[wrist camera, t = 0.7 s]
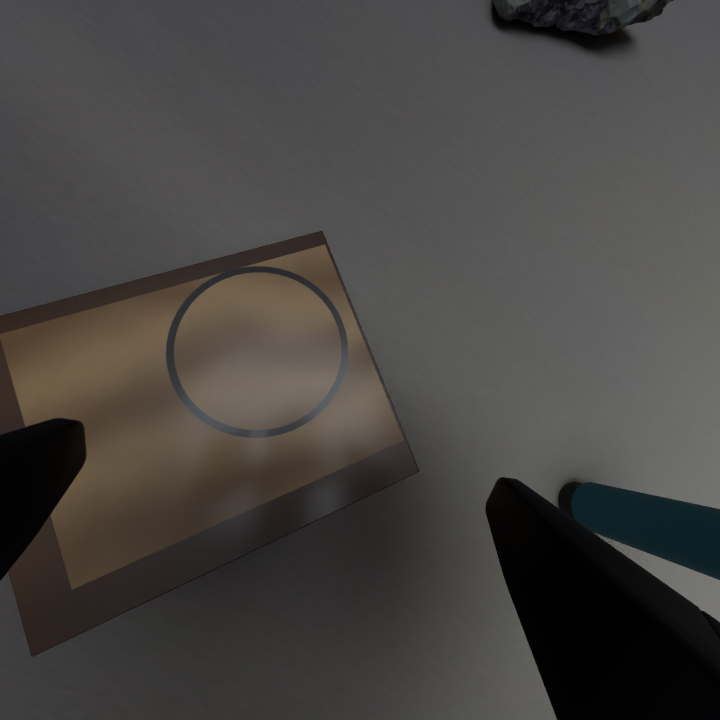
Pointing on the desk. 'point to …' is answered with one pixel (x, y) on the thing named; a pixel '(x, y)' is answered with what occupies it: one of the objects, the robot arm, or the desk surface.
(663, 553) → the cylinder
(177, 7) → the desk surface
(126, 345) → the wooden board
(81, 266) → the desk surface
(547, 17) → the mineral rock
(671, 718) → the robot arm
